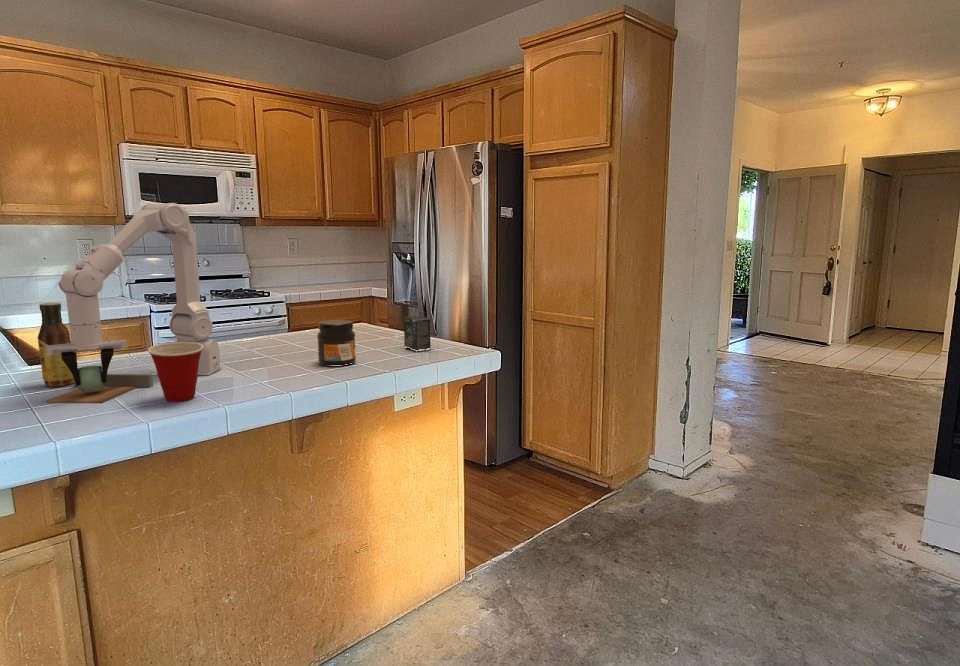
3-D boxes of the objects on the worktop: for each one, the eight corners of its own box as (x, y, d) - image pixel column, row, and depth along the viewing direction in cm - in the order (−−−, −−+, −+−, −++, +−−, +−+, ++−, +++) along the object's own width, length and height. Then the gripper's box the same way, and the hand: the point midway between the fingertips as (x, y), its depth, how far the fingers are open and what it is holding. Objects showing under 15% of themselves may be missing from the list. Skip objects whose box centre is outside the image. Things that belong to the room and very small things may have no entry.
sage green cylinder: (105, 386, 130) (103, 364, 129) (101, 390, 126) (99, 368, 125) (83, 387, 128) (80, 366, 127) (78, 392, 124) (75, 370, 123)
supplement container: (351, 367, 156) (349, 325, 155) (313, 367, 157) (311, 324, 155) (359, 359, 167) (358, 319, 165) (324, 359, 167) (323, 319, 165)
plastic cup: (157, 409, 117) (152, 352, 115) (148, 397, 126) (143, 345, 124) (213, 399, 124) (209, 346, 122) (200, 389, 132) (196, 339, 131)
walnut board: (135, 388, 133) (135, 386, 133) (102, 402, 121) (102, 401, 121) (84, 388, 133) (84, 386, 133) (46, 402, 121) (46, 400, 121)
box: (403, 348, 184) (403, 316, 183) (419, 346, 188) (418, 315, 186) (415, 352, 178) (415, 319, 176) (431, 350, 181) (430, 318, 179)
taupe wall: (153, 386, 135) (152, 374, 135) (150, 387, 134) (149, 375, 134) (77, 385, 135) (76, 373, 135) (74, 387, 134) (72, 374, 133)
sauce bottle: (48, 382, 138) (39, 302, 134) (79, 380, 140) (70, 301, 137) (39, 389, 132) (29, 305, 128) (71, 387, 134) (61, 304, 131)
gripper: (123, 319, 132) (129, 375, 134) (46, 323, 124) (53, 383, 126) (123, 323, 126) (129, 381, 128) (42, 327, 118) (50, 390, 120)
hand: (91, 383), depth 127 cm, fingers closed on sage green cylinder, 4 cm apart
